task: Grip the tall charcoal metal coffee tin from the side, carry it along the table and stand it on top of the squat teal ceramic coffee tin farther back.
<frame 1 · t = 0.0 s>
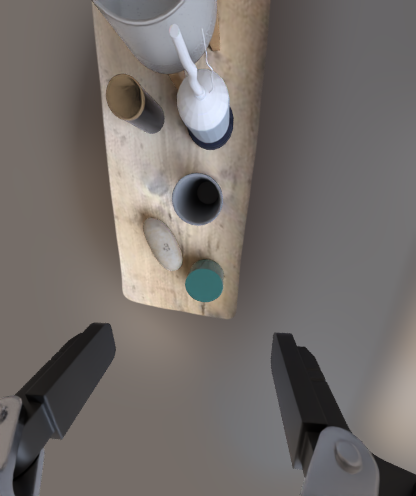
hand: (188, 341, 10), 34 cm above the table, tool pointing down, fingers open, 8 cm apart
stone: (166, 241, 45), on the table
tall tin: (150, 117, 37), on the table
white tall piece: (210, 125, 37), on the table
squat tin: (206, 275, 47), on the table
planter: (181, 50, 34), on the table
cup: (208, 192, 41), on the table
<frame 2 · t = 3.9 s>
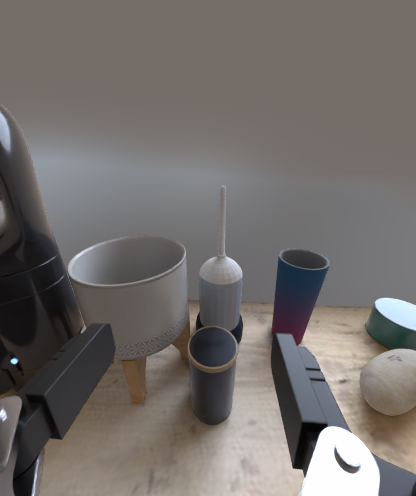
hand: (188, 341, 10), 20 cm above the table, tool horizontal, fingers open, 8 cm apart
stone: (390, 390, 27), on the table
tall tin: (211, 400, 26), on the table
white tall piece: (219, 332, 36), on the table
squat tin: (393, 335, 35), on the table
planter: (149, 357, 31), on the table
cup: (286, 334, 35), on the table
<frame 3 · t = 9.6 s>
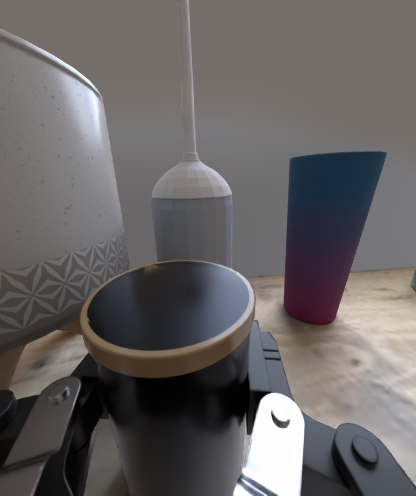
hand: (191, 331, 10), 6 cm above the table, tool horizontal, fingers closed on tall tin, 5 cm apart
tall tin: (188, 466, 10), on the table, touching gripper
white tall piece: (198, 319, 21), on the table
planter: (51, 381, 15), on the table
cup: (308, 310, 22), on the table
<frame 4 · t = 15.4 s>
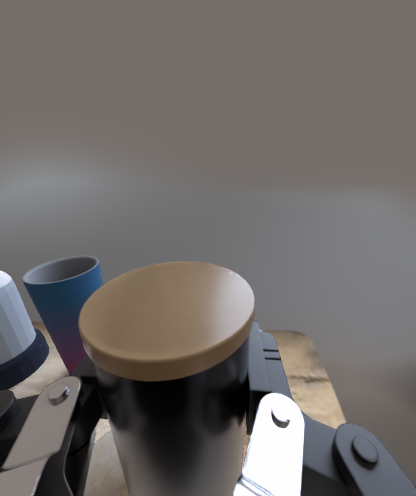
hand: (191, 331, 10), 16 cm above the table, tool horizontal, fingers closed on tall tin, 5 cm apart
stone: (154, 468, 18), on the table
tall tin: (188, 468, 10), point 10 cm above the table, touching gripper
white tall piece: (13, 366, 28), on the table
cup: (95, 369, 27), on the table
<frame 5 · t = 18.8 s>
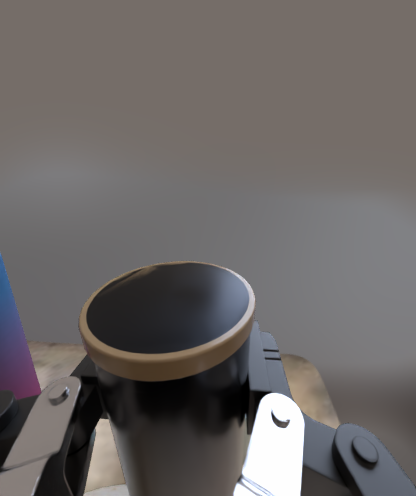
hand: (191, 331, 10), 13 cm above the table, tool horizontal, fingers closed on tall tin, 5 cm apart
tall tin: (188, 468, 10), point 7 cm above the table, touching gripper
cup: (8, 413, 19), on the table
when the fingers open (11 cm above the table, at t = 21.4 s): tall tin stays where it is, resting on squat tin.
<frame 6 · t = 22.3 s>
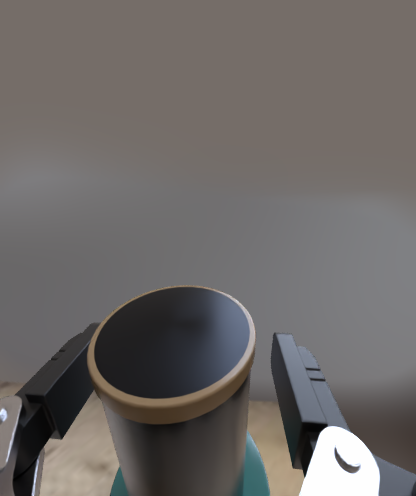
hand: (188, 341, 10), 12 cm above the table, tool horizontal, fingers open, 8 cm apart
tall tin: (190, 485, 10), point 5 cm above the table, touching squat tin
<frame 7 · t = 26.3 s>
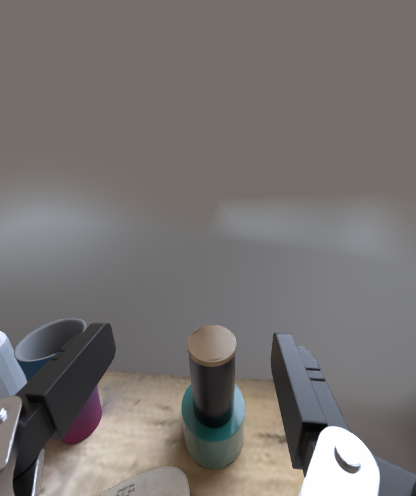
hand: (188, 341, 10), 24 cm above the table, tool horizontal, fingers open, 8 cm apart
tall tin: (213, 404, 25), point 5 cm above the table, touching squat tin
white tall piece: (5, 417, 29), on the table
squat tin: (213, 429, 27), on the table, touching tall tin
cup: (82, 423, 28), on the table
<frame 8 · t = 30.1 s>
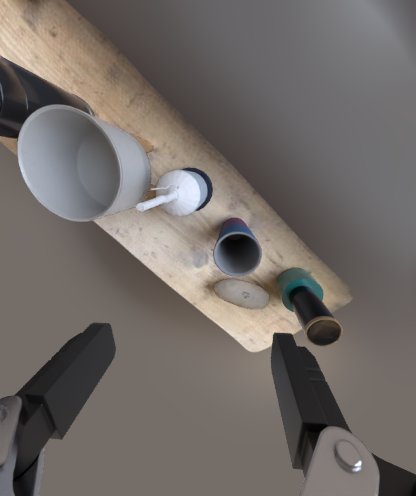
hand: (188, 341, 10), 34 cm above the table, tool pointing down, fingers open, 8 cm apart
stone: (241, 287, 47), on the table
tall tin: (301, 297, 41), point 5 cm above the table, touching squat tin
white tall piece: (192, 189, 41), on the table
squat tin: (294, 284, 45), on the table, touching tall tin
planter: (135, 172, 41), on the table
cup: (234, 229, 43), on the table
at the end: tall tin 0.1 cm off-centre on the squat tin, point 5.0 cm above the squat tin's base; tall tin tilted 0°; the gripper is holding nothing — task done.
